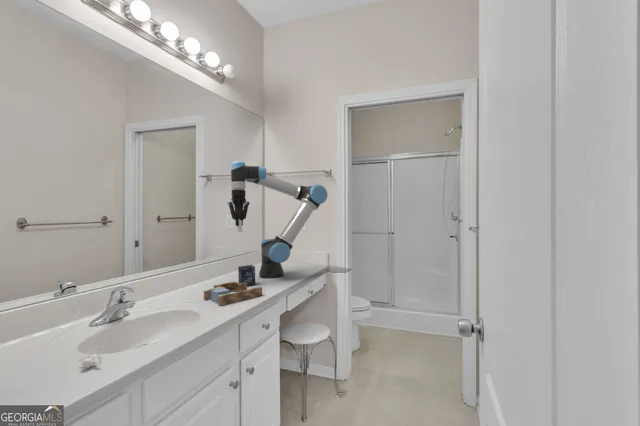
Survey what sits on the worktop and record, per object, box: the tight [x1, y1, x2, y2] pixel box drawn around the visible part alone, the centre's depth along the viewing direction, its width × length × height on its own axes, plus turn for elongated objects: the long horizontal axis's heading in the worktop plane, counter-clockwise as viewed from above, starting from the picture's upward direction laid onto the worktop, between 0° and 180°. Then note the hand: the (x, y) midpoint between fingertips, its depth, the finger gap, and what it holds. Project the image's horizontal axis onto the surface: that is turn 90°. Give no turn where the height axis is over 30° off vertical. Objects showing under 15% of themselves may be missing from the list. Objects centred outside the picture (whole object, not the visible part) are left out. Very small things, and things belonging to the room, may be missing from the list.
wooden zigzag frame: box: [203, 281, 263, 307], centre depth 151 cm, size 22×22×4 cm
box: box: [237, 264, 256, 287], centre depth 173 cm, size 8×6×11 cm
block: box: [210, 288, 230, 305], centre depth 144 cm, size 6×6×5 cm
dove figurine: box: [77, 348, 103, 369], centre depth 84 cm, size 8×5×5 cm, turn 78°
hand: (239, 231), depth 176 cm, fingers closed
